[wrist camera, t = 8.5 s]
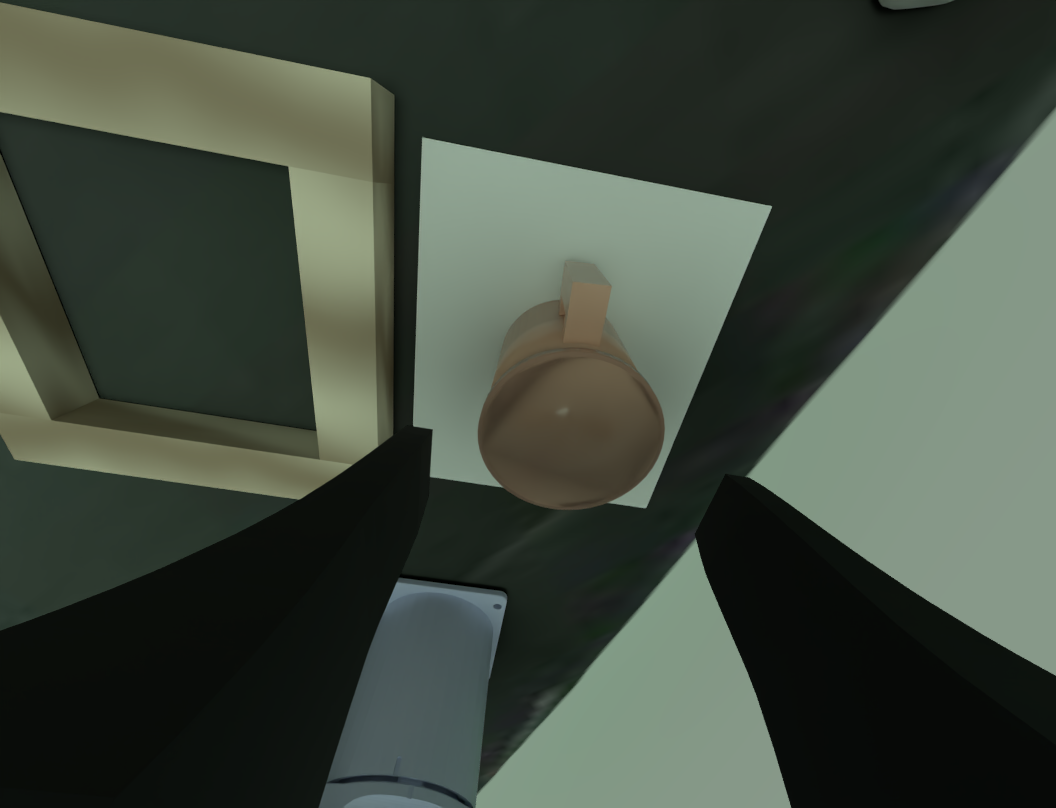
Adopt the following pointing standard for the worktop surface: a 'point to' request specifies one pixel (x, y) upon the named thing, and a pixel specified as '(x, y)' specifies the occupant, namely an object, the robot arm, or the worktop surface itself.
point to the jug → (569, 403)
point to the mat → (536, 277)
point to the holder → (321, 233)
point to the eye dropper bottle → (911, 3)
